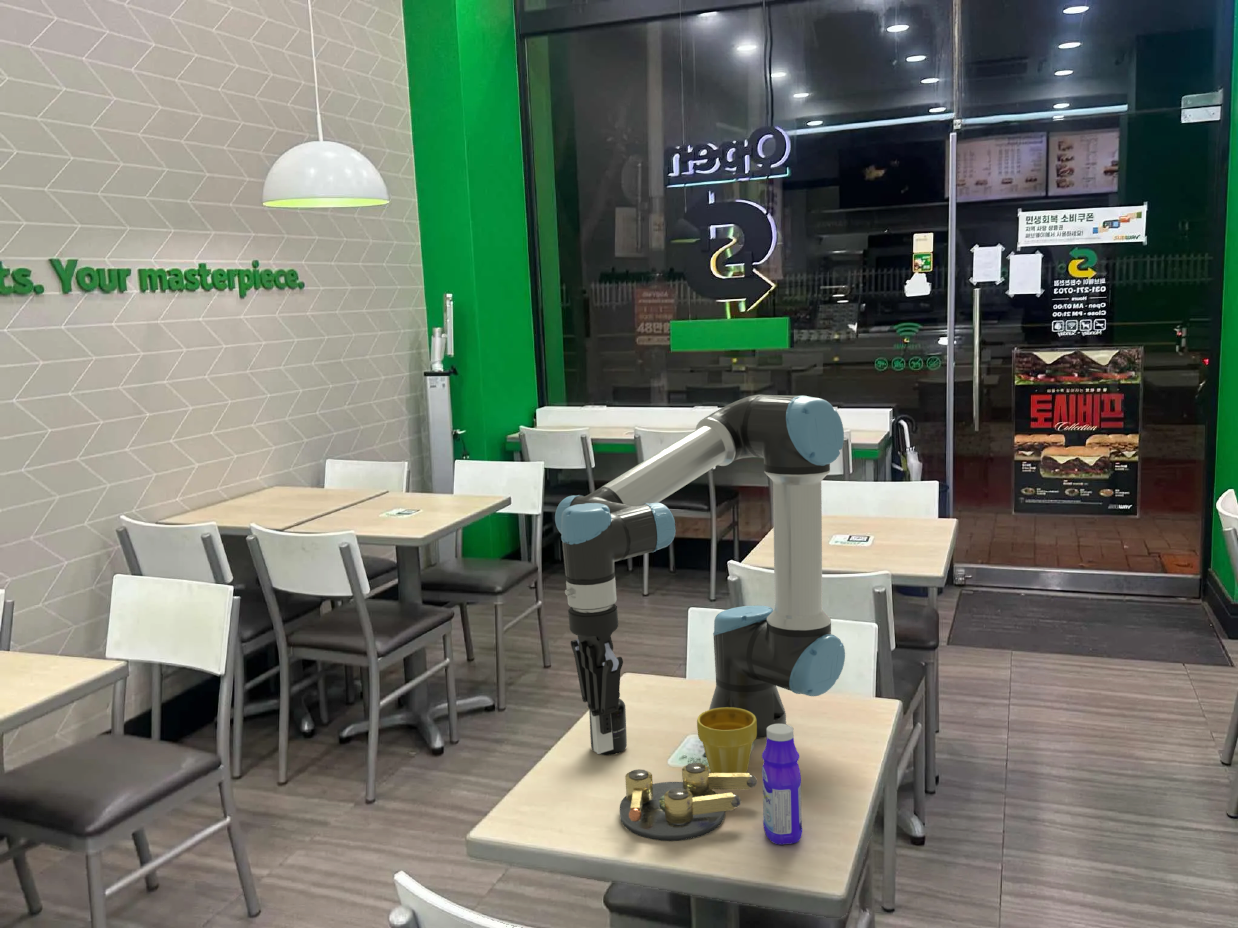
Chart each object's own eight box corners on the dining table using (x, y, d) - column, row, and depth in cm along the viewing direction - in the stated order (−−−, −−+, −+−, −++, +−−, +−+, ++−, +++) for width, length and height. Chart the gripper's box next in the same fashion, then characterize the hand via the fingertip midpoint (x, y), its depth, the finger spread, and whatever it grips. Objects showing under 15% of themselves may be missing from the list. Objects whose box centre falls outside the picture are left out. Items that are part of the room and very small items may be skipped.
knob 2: (668, 825, 159) (667, 800, 159) (662, 811, 163) (661, 788, 163) (744, 815, 161) (744, 791, 160) (737, 802, 165) (736, 778, 165)
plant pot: (723, 789, 175) (721, 734, 174) (687, 768, 184) (685, 716, 182) (770, 772, 180) (768, 719, 179) (733, 752, 189) (731, 702, 188)
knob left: (682, 795, 168) (681, 772, 168) (683, 783, 173) (682, 760, 172) (757, 795, 167) (757, 772, 167) (756, 783, 172) (756, 760, 171)
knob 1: (627, 790, 171) (626, 767, 171) (653, 790, 171) (652, 767, 170) (620, 826, 159) (619, 802, 159) (649, 826, 159) (648, 802, 158)
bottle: (759, 825, 162) (756, 720, 160) (794, 822, 163) (792, 717, 160) (769, 849, 155) (766, 739, 153) (806, 845, 156) (804, 736, 153)
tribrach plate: (710, 784, 177) (709, 769, 177) (737, 832, 160) (736, 816, 160) (612, 796, 174) (611, 781, 174) (629, 846, 158) (629, 830, 157)
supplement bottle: (623, 756, 190) (620, 694, 188) (587, 755, 191) (584, 693, 189) (630, 741, 196) (627, 681, 195) (595, 740, 198) (592, 680, 196)
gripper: (551, 600, 161) (563, 742, 165) (590, 620, 150) (602, 771, 154) (593, 591, 165) (604, 729, 169) (634, 609, 154) (645, 758, 158)
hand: (603, 749), depth 162 cm, fingers closed
